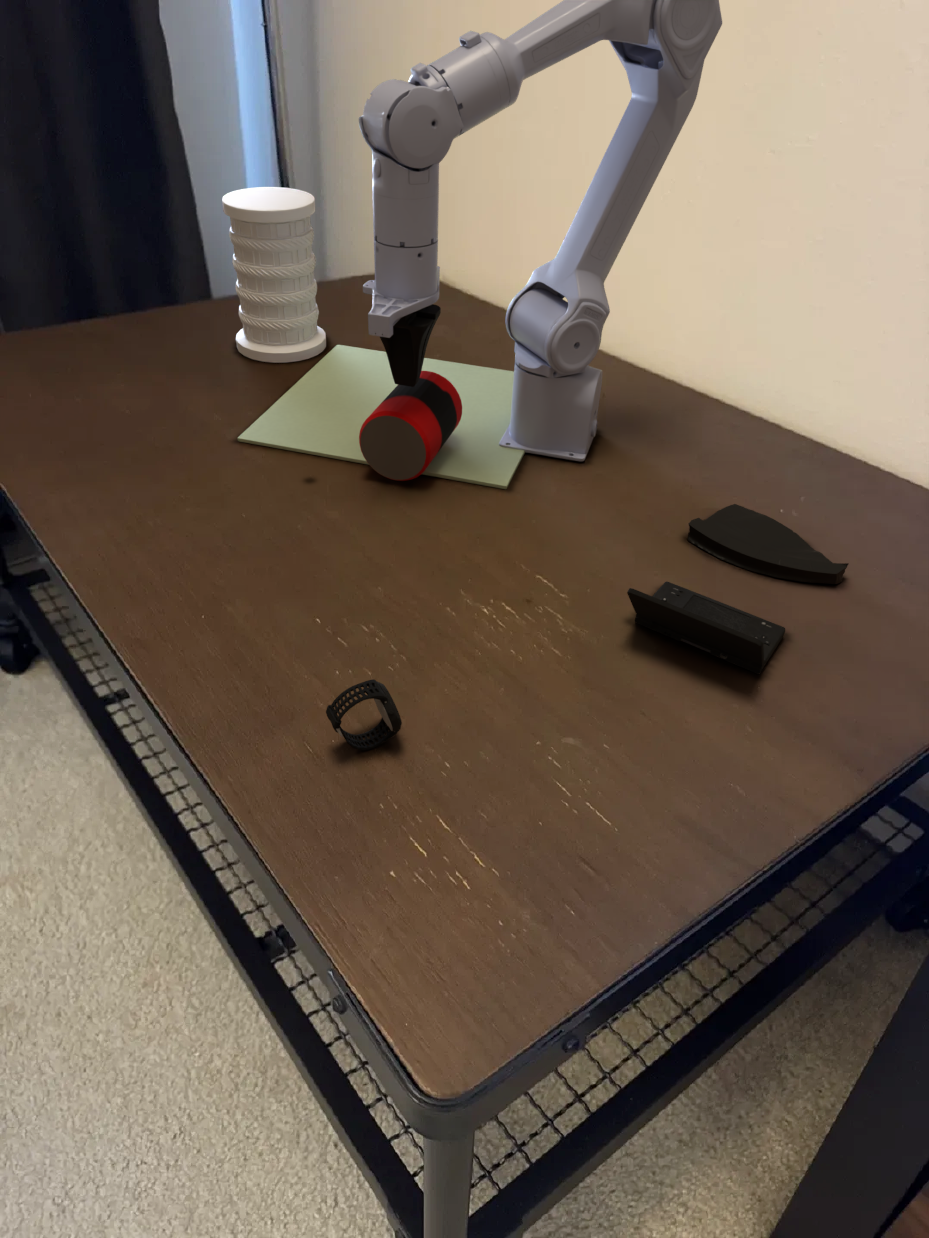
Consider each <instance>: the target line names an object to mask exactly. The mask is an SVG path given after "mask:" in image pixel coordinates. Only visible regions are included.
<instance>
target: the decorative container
mask: <svg viewBox="0 0 929 1238" xmlns="http://www.w3.org/2000/svg"><path fill="white" fill-rule="evenodd" d="M221 203H222V211H223V213H224V215H226V216H228V217H229V220H230V227H229V232H228V236H229V237H228V238H230V243H231V244H232V246H233V255H232V262H231V263H232V266H233V269H234V271H235V272H236V280H235V292H236V295H237V297H238V298H239V303H240V304H239V306H238V317H239V320H240V322H241V323H242V328H241V329H240V330H239V331H238V332H237V333H236V335H235V343H236V348H237V351H238V352H239V353H240V354H241V355H243V356H244V357H246V358H248V359H251V360H254V361H259V362H263V363H264V362H265V363H272V364H273V363H274V364H275V363H276V364H277V363H279V364H280V363H281V364H282V363H293V362H301V361H305V360H308V359H311V358H314V357H316V356H319V354H321V353H323V352H324V351H325V349H326V348H327V336H326V335H327V334H326V331H325V330H324V329H323V328H321V326H318V320H319V315H320V311H319V307H318V306H319V305H318V304H317V301H316V295H317V292H318V283H317V280H316V278H315V271H314V270H315V269H316V262H317V259H316V256H315V253H314V252H313V242H314V238H315V232H314V229H313V225H312V224H311V216H313V215H314V213H316V199H315V196H314V195H313V194H312V193H310V192H308V191H305V190H301V189H298V188H292V187H291V188H290V187H281V186H258V187H256V186H255V187H254V186H253V187H248V188H247V187H246V188H241V189H236V190H233V191H230V192H227V193H226V194H224V195H223V196H222V198H221Z"/></svg>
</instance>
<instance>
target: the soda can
mask: <svg viewBox="0 0 929 1238" xmlns="http://www.w3.org/2000/svg"><path fill="white" fill-rule="evenodd" d="M461 416H462V402H461V399H460V396H459V394H458V392H457V390H456V388H455V387H454V386H453V385H452V383H451V382H450V381H448V380H447V379H446V378H445V377H443V376H441V375H440V374H437V373H434V372H430V371H421V374H420V378H419V381H418V383H417V384H416V385H415V386H414V387H410V386H404V385H397V386H396V387H395V389H394V390H393V391H392V392H391V393H390V394H389V395H388V396H387V397H386V398H385V399H384V401H383V402H382V403H381V404H380V405H379V406H378V407H377V408H376V409H375V410H374V411H373V413H372V414H371V415H370V416H369V417H368V418H367V419H366V420H365V422H364V423H363V425H362V427H361V429H360V434H359V444H360V448H361V452H362V454H363V456H364V458H365V459H366V461H367V463H368V464H369V466H370V467H371V468H372V469H373V470H374V471H375V472H376V473H378V474H379V475H380V476H382V477H384V478H386V479H389V480H393V481H396V482H397V481H398V482H405V481H406V482H407V481H411V480H415V479H416V478H418V477H419V476H421V475H423V474H422V473H423V472H424V471H425V470H426V468H427V467H428V466H429V464H430V463H431V461H432V460H433V459H434V457H435V456H436V455H437V453H438V452H439V450H440V449H441V448H442V446H443V445H444V444H445V442H446V441H447V439H448V438H449V437H450V435H451V434H452V433H453V431H454V430H455V428H456V427H457V426H458V424H459V422H460V420H461ZM368 464H367V465H368Z"/></svg>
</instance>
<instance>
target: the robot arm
mask: <svg viewBox="0 0 929 1238" xmlns="http://www.w3.org/2000/svg"><path fill="white" fill-rule="evenodd" d="M722 26H723V17H722V11H721V5H720V0H562V1H560V2H559V3H557V4H555V5H554V6H553V7H551V8H550V9H548V10H547V11H545V12H544V13H542V14H541V15H539V16H538V17H536V18H535V19H533V20H531V21H530V22H528V23H527V24H525V25H524V26H522V27H520V28H519V29H518V30H516V31H515V32H513V33H512V34H510V35H509V36H507V37H506V38H502V37H500V36H498V35H497V34H495V33H493V32H490V31H484V32H482V33H480V32H477V31H474V30H473V31H472V30H469V31H467V32H465V33H464V34H462V35H460V36H459V37H458V41H459V45H460V46H458V47H456V48H455V49H453V50H451V51H449V52H447V53H446V54H444V55H442V56H441V57H439V58H437V59H435V60H434V61H432V62H430V63H429V64H427V65H426V64H425V63H422V62H419V63H417V64H415V65H413V66H412V67H411V68H410V73H411V74H410V76H409V79H408V81H406V80H403V79H396V78H393V79H387V80H385V81H382V82H381V83H379V84H377V85H376V86H375V87H374V88H373V89H372V91H371V92H370V93H369V94H370V97H369V98H366V100H365V103H364V107H363V112H362V113H363V114H362V115H361V116H358V126H359V130H360V133H361V136H362V138H363V140H364V142H365V144H367V145H368V147H369V148H370V150H371V167H372V169H371V170H372V172H371V173H372V181H371V182H372V183H371V185H372V186H371V187H372V188H371V189H372V191H371V192H372V226H373V257H374V259H373V260H374V261H373V262H374V279H370V280H367V281H366V282H365V283H364V284H363V285H362V293H364V295H371V296H372V301H371V302H372V303H371V305H372V306H371V309H370V311H369V312H368V313H367V325H368V326H367V327H368V335H369V336H374V337H379V339H380V341H381V343H382V345H383V348H384V352H386V354H387V357H388V361H389V365H390V369H391V372H392V376H393V379H394V382H395V384H398V385H404V386H410V387H414V386H415V385H416V384H417V383H418V381H419V378H420V374H421V370H422V366H423V361H424V358H425V355H426V351H427V348H428V343H429V340H430V337H431V335H432V332H433V330H434V327H435V325H436V323H437V321H438V319H439V317H440V315H441V313H442V312H441V306H440V305H437V304H436V303H437V302H438V301H439V299H440V277H441V267H440V266H439V265H438V263H439V262H438V259H439V256H438V255H439V205H440V204H439V201H440V163H441V162H442V161H443V160H444V159H445V157H446V156H447V154H448V153H449V151H450V149H451V146H452V143H453V141H454V139H456V138H458V137H460V136H461V135H463V134H465V133H466V132H468V131H470V130H472V129H473V128H475V127H477V126H479V125H480V124H482V123H483V122H485V121H487V120H489V119H490V118H492V117H494V116H495V115H497V114H498V113H500V112H502V111H504V110H505V109H507V108H509V107H511V106H512V105H514V104H515V103H516V101H517V100H518V97H519V95H520V91H521V87H522V84H523V81H525V80H526V79H529V78H530V77H532V76H534V75H537V74H538V73H540V72H542V71H544V70H546V69H548V68H550V67H552V66H554V65H556V64H558V63H560V62H561V61H564V60H565V59H567V58H569V57H571V56H574V55H576V54H577V53H579V52H581V51H583V50H585V49H587V48H589V47H591V46H592V45H593V46H594V45H595V44H596V43H598V42H600V41H601V42H602V41H609V44H610V45H611V47H612V49H613V51H614V52H615V54H616V56H617V57H618V59H619V61H620V63H621V65H622V66H623V68H624V70H625V72H626V77H627V79H628V83H629V88H630V91H631V98H630V100H629V102H628V105H627V106H626V108H625V111H624V112H623V115H622V116H621V119H620V121H619V123H618V125H617V127H616V130H615V132H614V133H613V136H612V138H611V140H610V142H609V144H608V146H607V148H606V150H605V152H604V154H603V156H602V158H601V161H600V163H599V166H598V167H597V169H596V171H595V174H594V175H593V177H592V180H591V181H590V184H589V186H588V188H587V190H586V192H585V195H584V196H583V199H582V201H581V202H580V204H579V207H578V208H577V211H576V213H575V215H574V217H573V219H572V221H571V224H570V226H569V227H568V231H567V232H566V234H565V237H564V239H563V241H562V242H561V244H560V247H559V249H558V251H557V253H556V254H555V257H554V258H552V259H551V260H549V261H547V262H545V263H544V264H541V265H540V266H538V267H536V268H535V269H534V270H533V271H532V273H531V275H530V277H529V279H528V281H527V283H526V284H525V285H524V287H522V288H521V289H520V290H519V291H518V292H517V293H516V294H515V295H514V296H513V297H512V299H511V301H510V302H509V304H508V307H507V309H506V312H505V318H504V319H505V320H504V321H505V323H504V324H505V328H506V329H505V330H506V332H507V334H508V335H509V337H510V338H511V340H513V341H514V348H513V349H514V350H513V352H514V355H515V356H514V366H513V367H514V370H513V371H514V380H513V393H512V406H511V420H510V425H509V426H508V428H507V430H506V432H505V433H504V435H503V437H502V439H501V440H500V442H499V446H501V447H506V448H512V449H518V450H524V451H525V453H527V454H533V455H539V456H545V457H550V458H556V459H562V460H569V461H574V462H580V463H582V462H584V461H585V460H586V458H587V456H588V453H589V450H590V448H591V445H592V443H593V440H594V438H595V437H596V434H597V430H598V413H599V407H600V400H601V392H602V385H603V376H604V375H603V374H604V371H603V370H602V369H600V368H596V367H594V366H590V364H591V363H592V362H593V360H594V359H595V357H596V356H597V354H598V352H599V350H600V347H601V343H602V336H603V330H604V326H605V323H606V321H607V319H608V317H609V315H610V313H611V310H610V304H609V301H608V297H607V292H606V289H605V282H606V280H607V277H608V275H609V274H610V272H611V269H612V268H613V266H614V263H615V261H616V260H617V258H618V256H619V253H620V252H621V250H622V248H623V246H624V244H625V242H626V240H627V238H628V236H629V234H630V232H631V231H632V228H633V226H634V224H635V222H636V220H637V218H638V217H639V214H640V212H641V210H642V208H643V206H644V204H645V202H646V201H647V198H648V197H649V194H650V192H651V191H652V188H653V186H654V184H655V183H656V180H657V178H658V177H659V174H660V173H661V171H662V169H663V166H664V165H665V163H666V161H667V159H668V157H669V155H670V153H671V152H672V151H671V150H672V149H673V147H674V145H675V143H676V141H677V139H678V137H679V135H680V133H681V132H682V129H683V126H684V125H685V123H686V121H687V119H688V117H689V116H690V113H691V112H692V109H693V107H694V105H695V102H696V99H697V97H698V92H699V88H700V82H701V78H702V74H703V69H704V64H705V59H706V58H707V56H708V54H709V51H710V50H711V47H712V46H713V43H714V42H715V39H716V37H717V36H718V33H719V32H720V30H721V28H722ZM564 298H565V299H566V300H565V299H564ZM507 444H509V445H507Z"/></svg>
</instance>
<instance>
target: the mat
mask: <svg viewBox="0 0 929 1238" xmlns="http://www.w3.org/2000/svg"><path fill="white" fill-rule="evenodd" d="M421 371H430V372H434V373H437V374H440V375H441V376H443V377H445V378H446V379H447V380H448V381H450V382H451V383H452V385H453V386H454V387H455V388H456V390H457V392H458V394H459V396H460V399H461V402H462V416H461V420H460V422H459V424H458V426H457V427H456V428H455V430H454V431H453V433H452V434H451V435H450V437H449V438H448V439H447V441H446V442H445V444H444V445H443V446H442V448H441V449H440V450H439V452H438V453H437V455H436V456H435V457H434V459H433V460H432V461H431V463H430V464H429V466H428V467H427V468H426V470H425V471H424V472H423V473H422V474H421V475H424V476H429V477H435V478H441V479H447V480H450V481H458V482H462V483H469V484H475V485H479V486H485V487H490V488H496V489H500V490H501V489H502V490H507V489H508V488H509V486H510V484H511V481H512V480H513V477H514V475H515V474H516V471H517V469H518V467H519V465H520V463H521V461H522V459H523V457H524V455H525V454H526V452H525V451H524V450H518V449H512V448H506V447H501V446H499V442H500V440H501V439H502V437H503V435H504V433H505V432H506V430H507V428H508V426H509V425H510V420H511V406H512V393H513V380H514V370H508V369H507V370H506V369H501V368H495V367H494V368H493V367H488V366H481V365H474V364H468V363H463V362H462V363H461V362H454V361H448V360H441V359H436V358H429V357H424V361H423V366H422V370H421ZM397 385H398V384H395V382H394V379H393V376H392V372H391V369H390V365H389V361H388V357H387V354H386V351H382V350H376V349H368V348H364V347H356V346H349V345H343V344H336V345H335V346H334V347H333V348H332V349H331V350H330V351H329V352H327V354H326V355H324V356H323V357H322V358H321V359H320V360H319V361H318V362H317V363H316V364H315V365H314V366H313V367H311V369H309V370H308V371H307V372H306V373H305V374H304V375H302V377H301V378H300V379H299V380H297V382H296V383H294V384H293V385H292V386H291V387H290V388H289V389H288V390H287V391H286V392H285V393H284V394H283V395H282V396H281V397H279V398H278V399H277V400H276V401H275V402H274V403H273V404H272V405H271V406H270V407H269V408H268V409H267V410H266V411H264V412H263V413H262V414H261V415H260V416H259V417H258V418H257V419H256V420H255V421H254V422H253V423H251V425H250V426H248V427H247V428H246V429H245V430H244V431H243V432H242V433H241V434H240V435H239V436H238V437H237V438H236V439H237V442H240V443H246V444H252V445H257V446H263V447H268V448H269V447H270V448H274V449H279V450H285V451H290V452H296V453H303V454H307V455H314V456H319V457H322V458H323V457H324V458H329V459H335V460H341V461H347V462H351V463H357V464H364V465H369V464H368V463H367V461H366V459H365V458H364V456H363V454H362V452H361V448H360V444H359V434H360V429H361V427H362V425H363V423H364V422H365V420H366V419H367V418H368V417H369V416H370V415H371V414H372V413H373V411H374V410H375V409H376V408H377V407H378V406H379V405H380V404H381V403H382V402H383V401H384V399H385V398H386V397H387V396H388V395H389V394H390V393H391V392H392V391H393V390H394V389H395V387H396V386H397ZM507 445H509V444H507ZM369 466H370V465H369Z"/></svg>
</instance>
